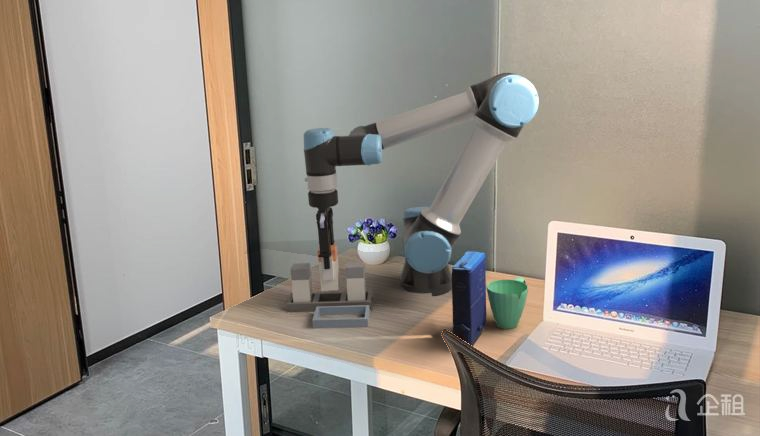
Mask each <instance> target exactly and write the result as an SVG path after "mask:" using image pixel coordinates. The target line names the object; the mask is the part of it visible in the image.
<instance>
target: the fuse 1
mask: <svg viewBox="0 0 760 436" xmlns="http://www.w3.org/2000/svg"><path fill="white" fill-rule="evenodd" d="M311 271H312V270H311V263H310V262H307V263H304V262H303V263H293V264H292V265H291V268H290V279H291V280H290V281H291V291H292V293H293V303H296V302H312V301H313V296H312V293H313V285H312V284H313V283H312V272H311Z"/></svg>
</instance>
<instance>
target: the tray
mask: <svg viewBox="0 0 760 436" xmlns="http://www.w3.org/2000/svg"><path fill="white" fill-rule="evenodd" d="M370 311H371V310H370V308H369V305H353V306H318V307H316V310H315V312H313V317H312V320H311V323H312V329H340V328H343V329H344V328H368V327H369V322H370ZM345 315H347V316H348V315H349V316H350V315H364V317H344V318H343V317H341V318H339V317H337V318H335V317H334V318H333V317H332V318H320V317H321V316H345Z"/></svg>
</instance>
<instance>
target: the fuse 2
mask: <svg viewBox="0 0 760 436" xmlns="http://www.w3.org/2000/svg"><path fill="white" fill-rule="evenodd" d="M365 273H366V271H365V261H347V262H346V266H345V275H346V276H345V277H346V279H345V280H346V292H347V295H348V301H365V300H366V291H367V290H366V274H365Z"/></svg>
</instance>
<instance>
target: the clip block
mask: <svg viewBox="0 0 760 436" xmlns="http://www.w3.org/2000/svg"><path fill="white" fill-rule="evenodd" d="M312 296H313V301H312V302H296V303H293V293H290V294H289V297H288V300H287V301H286V304H285V306H286V310H285V313H315V310H316V307H318V306H353V305H369V308H370V311H373V303H374V296H373V291H372V290H366V300H365V301H348V295H347V291H321V292H320V291H319V292H318V291H317V292H312Z"/></svg>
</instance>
